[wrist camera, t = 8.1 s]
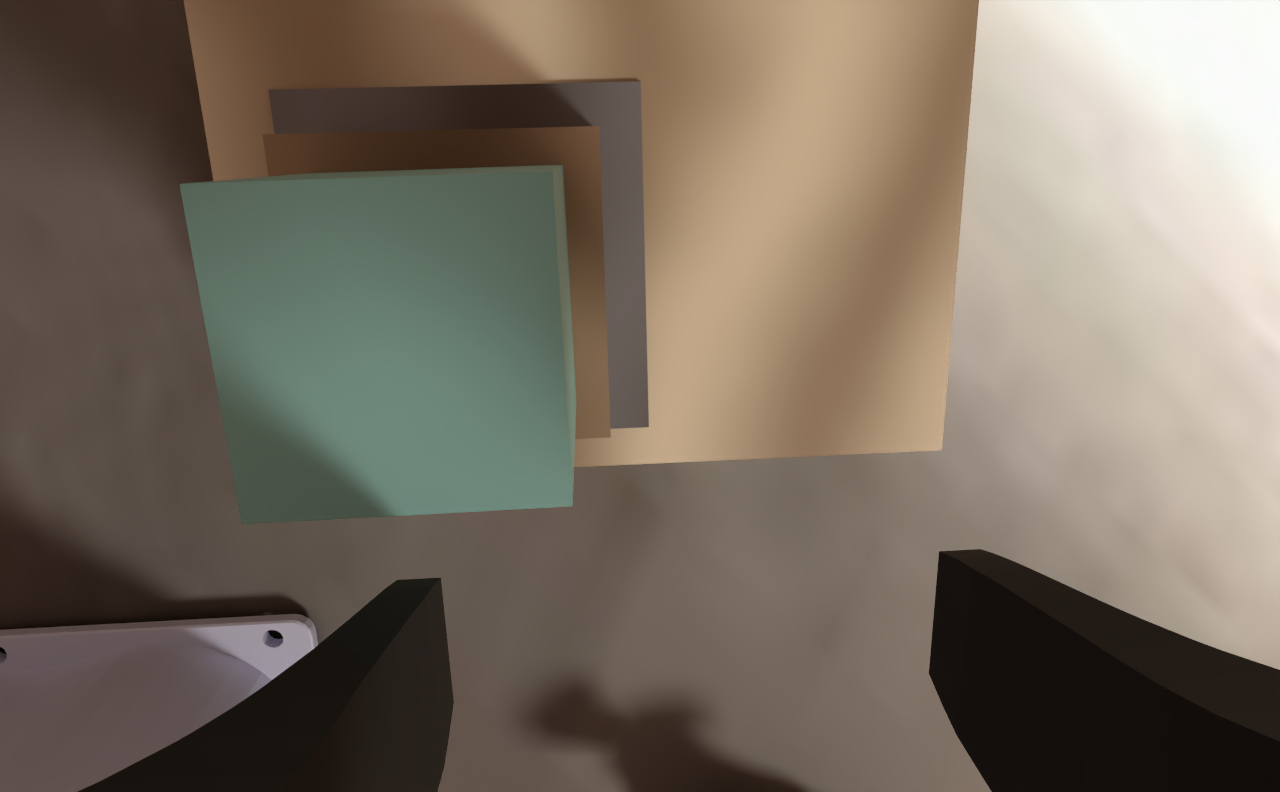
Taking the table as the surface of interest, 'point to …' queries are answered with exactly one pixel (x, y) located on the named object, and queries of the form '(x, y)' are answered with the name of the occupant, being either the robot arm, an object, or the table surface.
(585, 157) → the walnut base block
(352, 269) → the teal block
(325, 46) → the board
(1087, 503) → the table surface
